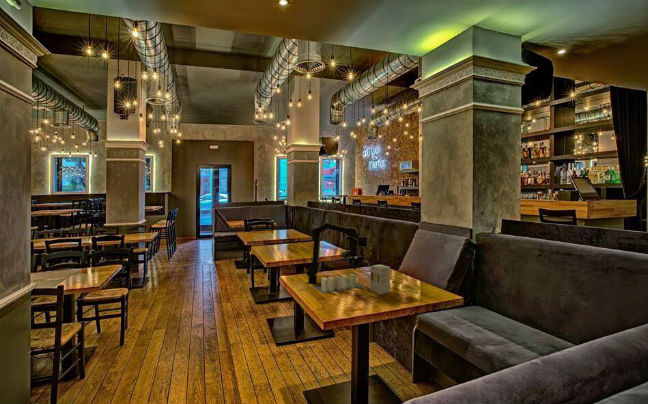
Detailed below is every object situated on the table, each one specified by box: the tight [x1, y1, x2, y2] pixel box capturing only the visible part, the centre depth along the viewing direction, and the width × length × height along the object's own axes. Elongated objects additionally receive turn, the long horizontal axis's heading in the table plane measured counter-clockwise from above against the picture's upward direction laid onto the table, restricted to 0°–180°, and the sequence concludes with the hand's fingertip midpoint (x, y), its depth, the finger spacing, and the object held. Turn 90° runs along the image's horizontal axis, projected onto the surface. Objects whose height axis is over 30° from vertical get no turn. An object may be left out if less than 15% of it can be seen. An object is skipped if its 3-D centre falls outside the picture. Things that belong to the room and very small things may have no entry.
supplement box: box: [369, 264, 391, 295], centre depth 226 cm, size 10×9×17 cm
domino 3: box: [334, 275, 341, 290], centre depth 230 cm, size 5×2×8 cm, turn 29°
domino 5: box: [348, 273, 357, 287], centre depth 236 cm, size 5×2×8 cm, turn 29°
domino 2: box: [327, 276, 335, 291], centre depth 228 cm, size 5×2×8 cm, turn 29°
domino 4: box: [340, 274, 348, 289], centre depth 233 cm, size 5×2×8 cm, turn 29°
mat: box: [311, 280, 366, 294], centre depth 236 cm, size 18×32×1 cm, turn 119°
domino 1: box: [320, 277, 328, 292], centre depth 225 cm, size 5×2×8 cm, turn 29°
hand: (352, 268), depth 236 cm, fingers open, 4 cm apart
